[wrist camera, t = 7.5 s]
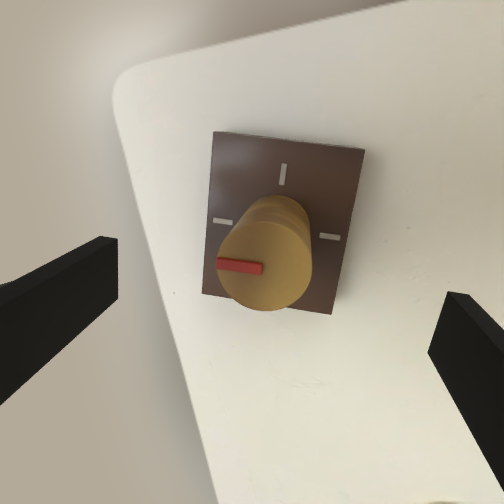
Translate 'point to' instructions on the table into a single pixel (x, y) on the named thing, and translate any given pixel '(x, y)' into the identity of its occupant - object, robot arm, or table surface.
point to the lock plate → (290, 185)
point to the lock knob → (267, 255)
